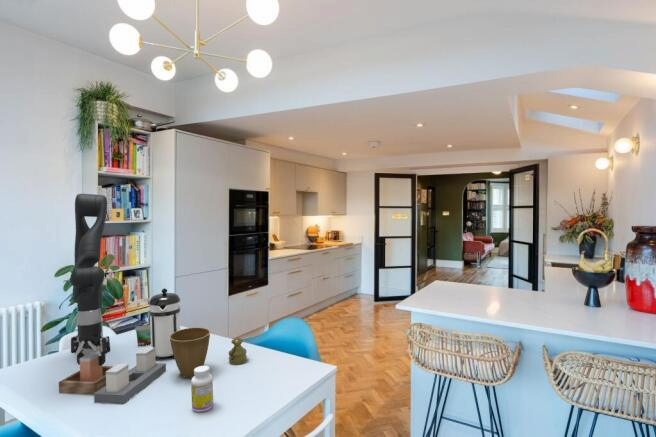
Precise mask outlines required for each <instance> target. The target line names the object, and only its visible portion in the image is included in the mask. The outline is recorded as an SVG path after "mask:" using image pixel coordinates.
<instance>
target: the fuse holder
mask: <svg viewBox="0 0 656 437" xmlns="http://www.w3.org/2000/svg"><path fill="white" fill-rule="evenodd" d="M165 372H167V363H164V362H156V366H154V367H153V368H151V369H150V370H149V371H147V372H137V365H135V366H133V367H132V368H129V385H128V386H126V387H125V388H124V389H122V390H121V391H120V392H118V393H110V392H107V390H106V386H105V387H103V388H102V389H100V390H99V391H97V392H96V393H94V395H93V401H94V403H96V404H97V403H99V404H119V405H125V403H127V402H128V401H129V400H130V398H131V399H132V398H133V397H135V396H136V395H137V394H138V393H139V391H140V390H141V391H142V390H143V389H144V387H145V388H146V387H147V386H149V385H150V384H151V383H153V382H154V381H155V380H156V379H157V378H159V377H160V376H161V375H162V374H164V373H165ZM148 384H149V385H148ZM141 391H140V392H141ZM135 394H136V395H135ZM134 395H135V396H134Z"/></svg>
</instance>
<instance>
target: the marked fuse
mask: <svg viewBox="0 0 656 437" xmlns="http://www.w3.org/2000/svg"><path fill="white" fill-rule="evenodd" d="M98 356H99V355H98V354H97V352H91V353H89V354H87V355H85V356H83V357H81V358H79V359H80V365H79V370H80V381H84V382H95V381H96V380H98V379H99V378H101V377H103V376H102V366H103V365H101V366H99V365H98Z"/></svg>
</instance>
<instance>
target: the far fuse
mask: <svg viewBox="0 0 656 437" xmlns="http://www.w3.org/2000/svg"><path fill="white" fill-rule="evenodd" d="M135 357H136V358H135V359H136V362H135V363H136V365H137V372H147V371H149V370H150V369H151V368H153V367H154V366H156V363H157V361H156V360H157V359H156V360H155V357H156V356H155V347H151V346H144V348H142V349H140V350H139V351H137V352H136V353H135ZM136 365H135V366H136Z"/></svg>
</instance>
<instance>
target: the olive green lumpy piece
mask: <svg viewBox="0 0 656 437" xmlns="http://www.w3.org/2000/svg"><path fill="white" fill-rule="evenodd" d="M230 342H231V344H233V347H232V348H231V349H230V350H229V351H228V363H229V364H230V365H235V366H236V365H237V366H238V365H242V364H245V363H246V362H247V359H248V358H247V356H248V355H247V349H246V348H244V346H243V345H242V343H243V342H244V339H243V338H241V337H239V336H238V337H235V338H233V339H232V340H231V341H230Z"/></svg>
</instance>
